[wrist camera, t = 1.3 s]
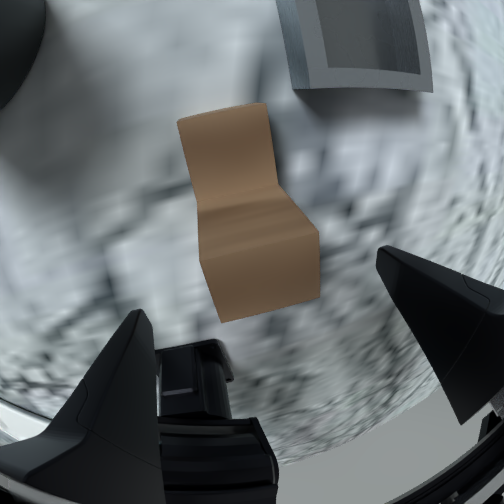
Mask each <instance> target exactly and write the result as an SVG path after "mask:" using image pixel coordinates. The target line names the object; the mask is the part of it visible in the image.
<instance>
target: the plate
mask: <svg viewBox="0 0 504 504" xmlns="http://www.w3.org/2000/svg"><path fill="white" fill-rule="evenodd" d="M51 421H52V420H49V419H47V418H44V417H41V416H39V415H36V414H33V413H31V412H29V411H26V410H24V409H21V408H19V407H17V406H15V405H12V404H10V403H8V402H6V401H4V400H2V399H0V429H1V430H2V431H4V432H5V433H7V434H9V435H10V436H12V437H13V438H15V439H17V440H19V441H21V440H25V439H28V438H31V437H34V436H36V435H38V434H40V433H41V432H43V431H44V430H45V429H46V427H47V426H48V425H49V424H50V422H51Z"/></svg>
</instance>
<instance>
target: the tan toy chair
mask: <svg viewBox="0 0 504 504" xmlns="http://www.w3.org/2000/svg"><path fill="white" fill-rule="evenodd" d="M177 126H178V130H179V134H180V138H181V142H182V146H183V150H184V154H185V158H186V162H187V166H188V170H189V174H190V178H191V182H192V185H193V189H194V193H195V197H196V200H197V215H198V242H199V261H200V264H201V267H202V270H203V273H204V276H205V279H206V282H207V285H208V288H209V291H210V293H211V296H212V299H213V302H214V305H215V307H216V310H217V313H218V316H219V318H220V321H221V323H225V322H229V321H233V320H237V319H241V318H245V317H249V316H253V315H257V314H261V313H265V312H269V311H273V310H276V309H280V308H284V307H287V306H291V305H295V304H298V303H302V302H305V301H309V300H312V299H315V298H319V297H320V246H319V231H318V230H317V229H316V228H315V226H314V225H313V224H312V223H311V222H310V220H309V219H308V218H307V217H306V216H305V214H304V213H303V212H302V211H301V210H300V209H299V207H298V206H297V205H296V204H295V203H294V202H293V200H292V199H291V198H290V197H289V196H288V195H287V194H286V192H285V191H284V190H283V189H282V188H281V187H280V186H279V184H278V179H277V172H276V165H275V158H274V151H273V144H272V138H271V131H270V125H269V118H268V112H267V106H266V103H252V104H246V105H240V106H235V107H229V108H224V109H219V110H215V111H210V112H206V113H201V114H197V115H193V116H189V117H185V118H181V119H179V120H178V121H177Z"/></svg>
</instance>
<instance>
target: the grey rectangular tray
mask: <svg viewBox="0 0 504 504" xmlns="http://www.w3.org/2000/svg"><path fill="white" fill-rule="evenodd" d="M276 3H277V8H278V12H279V17H280V22H281V27H282V32H283V37H284V42H285V48H286V53H287V59H288V65H289V71H290V77H291V83H292V89H315V88H341V87H364V88H390V89H403V90H414V91H423V92H431V93H433V82H432V71H431V62H430V54H429V47H428V41H427V35H426V29H425V24H424V19H423V15H422V11H421V6H420V3H419V0H276Z"/></svg>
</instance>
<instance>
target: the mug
mask: <svg viewBox="0 0 504 504" xmlns="http://www.w3.org/2000/svg"><path fill="white" fill-rule="evenodd" d="M44 25H45V5H44V1H43V0H0V110H1V109H2V108H3V107H4V106H5V105H6V104H7V102H8V101H9V100H10V99H11V98H12V96H13V95H14V94H15V92H16V91H17V90H18V88H19V87H20V85H21V84H22V82H23V80H24V79H25V77H26V75H27V73H28V71H29V69H30V68H31V65H32V63H33V61H34V59H35V56H36V54H37V51H38V48H39V46H40V42H41V39H42V35H43V31H44Z"/></svg>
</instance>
